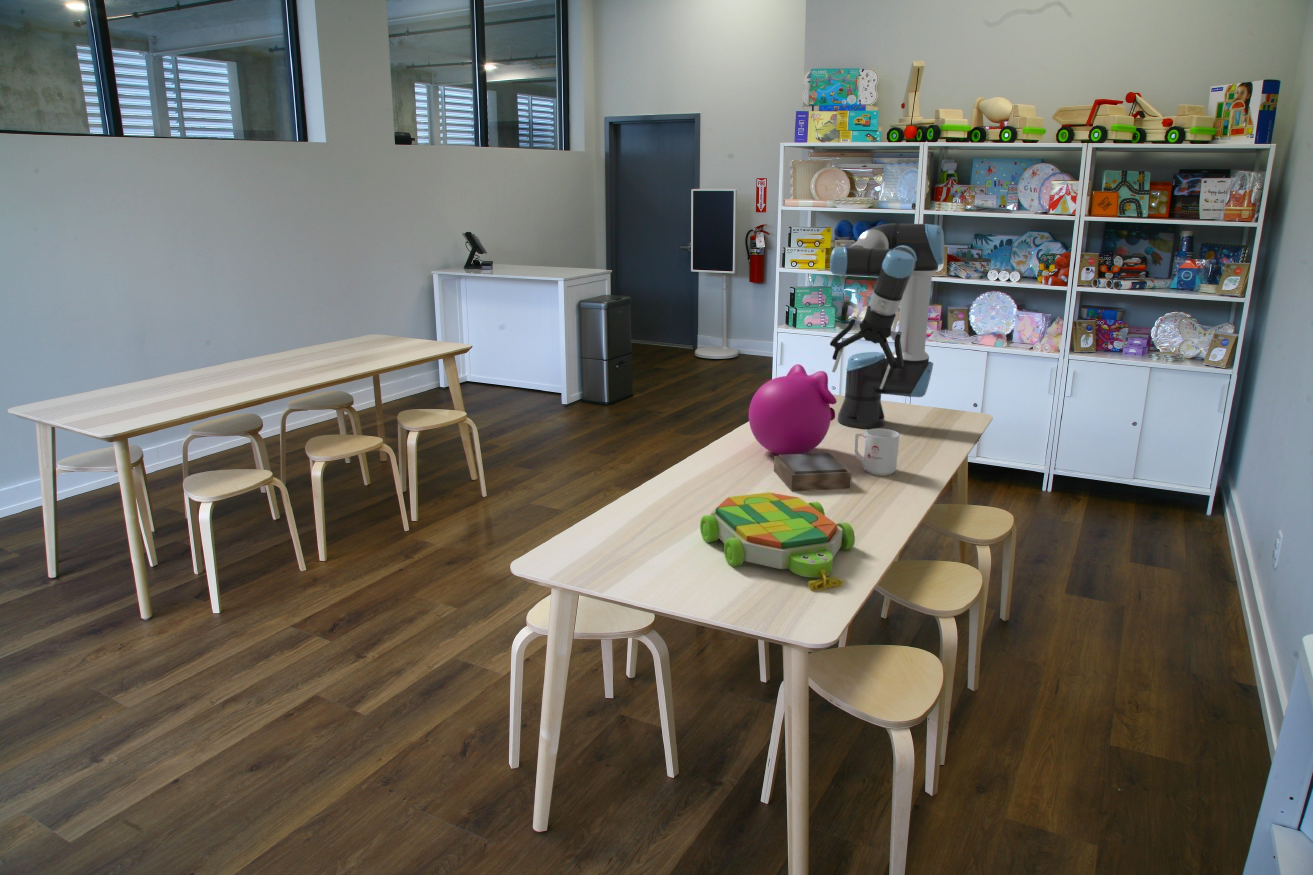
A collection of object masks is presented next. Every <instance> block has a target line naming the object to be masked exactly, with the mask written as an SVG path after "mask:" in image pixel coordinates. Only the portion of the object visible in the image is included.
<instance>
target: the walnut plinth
mask: <svg viewBox="0 0 1313 875" xmlns="http://www.w3.org/2000/svg"><path fill="white" fill-rule="evenodd" d="M773 472H774V473H775V475H777V477H778V478H779V479H780V480H781V481H782V482H783V484H784V485H785V486H786V487H787V488H788V489H789V490H790V492H801V491H805V492H806V491H818V490H820V491H821V490H823V491H824V490H839V489H840V490H842V489H843V490H845V489H846V490H847V489H851V481H852V472H851V471H850V470H849V469H848V468H847V467H846V466H844V465H843V463H841V462H840V461H839V460H838V459H837V458H836V457H835V456H833V455H832V454H831V453H829V452H818V453H817V452H816V453H815V452H812V453H804V454H786V455H780V454H778V455H774V459H773Z"/></svg>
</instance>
